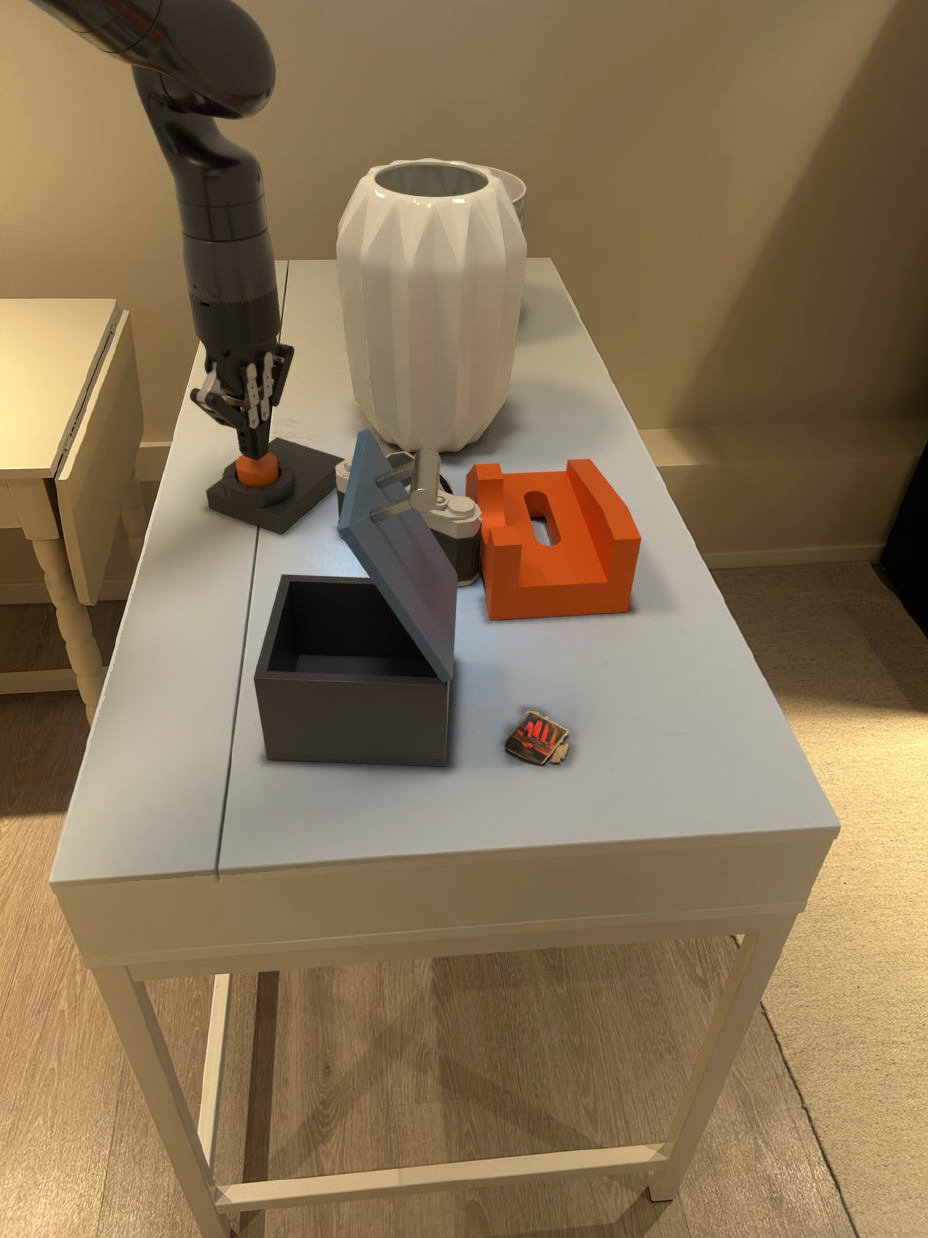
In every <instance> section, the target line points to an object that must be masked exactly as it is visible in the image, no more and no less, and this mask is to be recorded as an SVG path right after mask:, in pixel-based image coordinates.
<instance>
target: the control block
mask: <svg viewBox="0 0 928 1238" xmlns="http://www.w3.org/2000/svg"><path fill="white" fill-rule="evenodd" d="M268 449H269V453H271V454H273V455H274V456H275V457H276V458H277V464H278V472H279V477H278V479H277V480H276V481H275V482H273V483H271V484H267V485H264V486H247V485H244V484H241V483H240V482H239V480H238V474H237V467H236V461H237V459H235V460H234V461H232V462H231V463H230V464H228V465H227V466H226V467H225V468H224V469H223V473H222V477H221V478H220V479H219V480H218V481H216V482H215V483H213V484H212V485H211V486H210V487H208V488H207V489H206V490H205V494H206V499H207V504H208V505H207V506H208V508H209V510H212V511H215V512H218V513H221V514H224V515H226V516H229V517H232V518H235V519H238V520H241V521H243V522H246V523H248V524H250V525H254V526H257V527H260V528H262V529H265V530H268V531H271V532H273V533H276V534H279V535H283V534H284V533H285V532H286V531H287V530H288V529H290V527H292V526H293V525H294V524H295V523H296V522H297V521H299V520H300V519H301V518H303V516H304V515H305V514H307V513H308V512H309V511H310V510H311V509H312V508H314V507H315V506H316V505H317V504H318V503H320V501H321V500H322V499H324V498H325V497H326V496H327V495H328V494H329V493H330V492H332V491H333V490H334V489H336V485H335V482H336V468H335V466H337V465H338V464H339V463H341V462H342V461H344V460H345V459H346V458H344V457H340V456H338V455H334V454H331V453H328V452H325V451H322V450H319V449H315V448H312V447H310V446H306V445H303V444H300V443H297V442H293V441H291V440H287V439H284V438H281V437H278V436H276V437H275V438H273V439H272V440H270V441H269V444H268Z"/></svg>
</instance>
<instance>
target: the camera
mask: <svg viewBox="0 0 928 1238" xmlns="http://www.w3.org/2000/svg"><path fill="white" fill-rule="evenodd" d="M385 457H386V458H387V460H388V462H389V463H390V465H391V466H392V468H393V469H395V468H398V467H400V466H403V465H405V464H408V463H410V462H413V461H414V455H413V454H411V452H407V451H403V450H402V451H396V452H389V454H387V455H385ZM344 459H345V460H344V461H342V462H341V463H339V464H338V465H337V466H335V468H336V482H335V485H336V487H335V491H336V492H335V493H336V495H337V511H338V520H337V524H338V525H339V521H340V516H341V511H342V507H343V502H344V497H345V493H346V488H347V483H348V479H349V474H350V469H351V465H352V460H353V456H349V457H346V458H344ZM411 477H412V476H411ZM411 477H408V478H406V479H403V480H401V483H402V484H403V486H404V488H405V489H406V491H407V493H408V494H409V493H410V485H411ZM420 514H421V515H422V517H423V519H424V520H425V522H426V524H427V525H428V527H429V528H430V530H431V532H432V533H433V535H434V537H435V538H436V540H437V541H438V543H439V545H440V546H441V548H442V550H443V551H444V553H445V555H446V556H447V558H448V559H449V561H450V563H451V564H452V566H453V568H454V569H455V571H456V572H457V574H458V583H457V588H458V587H465V586H471V585H472V584H473V583H474V582H475V581H476V580H477V579H478V578H479V577H480V571H481V563H480V544H481V527H482V522H483V519H482V518H481V517H482V513H481V511H480V509H479V507H478V505H477V504H475V502H474V501H473V500H472V499H470V498H469V497H465V496H463V495H454V489H453V487H452V485H451V483H450V481H449V480H448V478H447V477H446V476H445V475H444V473H442V472H441V471H440V473H439V485H438V497H437V504H436V506H435V508H434V509H433V510H431V511H429V512H425V513H422V512H420ZM340 538H341V539H343V538H342V537H341V536H340Z"/></svg>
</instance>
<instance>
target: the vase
mask: <svg viewBox="0 0 928 1238" xmlns="http://www.w3.org/2000/svg"><path fill="white" fill-rule="evenodd" d="M469 164H470V163H468V162H466V161H464V160H443V159H438V158H434V157H433V158H432V157H426V158H421V159H420V158H419V159H416V160H410V159H407V160H406V159H397V160H394V161H392V162H391V163H389V164H385V165H377V166H376V165H375V166H373V167H371V168H370V169H369V170H368V172H367V173H366V175H365V176H362V177H361V178H360V179H359V181H358V183H357V185H356V186H355V188H354V191H353V192H352V194H351V197H350V199H349V201H348V203H347V204H346V206H345V209H344V211H343V214H342V216H341V218H340V220H339V223H338V226H337V235H338V237H337V240H336V243H335V249H336V250H335V251H336V252H335V253H336V254H335V255H336V263H337V264H336V265H337V275H338V277H337V278H338V289H339V295H340V296H339V297H340V303H341V311H342V320H343V328H344V335H345V337H344V338H345V344H346V345H345V346H346V353H347V358H348V359H347V360H348V367H349V373H350V379H351V386H352V392H353V397H354V400H355V402H356V403H357V405H358V406H359V408H360V409H361V410H362V412H363V413H364V415H365V416H366V418H367V419H368V420H369V422H370V423H371V425H372V426H373V427H374V429H375V430H376V432H377V433H378V435H379V436H380V438H381V439H383V441H384V442H385V443H387V444H390V445H395V446H398V447H399V448H400V449H401V450H402V451H407V452H408V453H416V452H417V451H418V450H420V449H422V448H431V449H434V450H435V451H436V452H437V453H438V454H439V455H440V454H441V453H445V452H446V453H447V452H448V453H457V452H460V451H461V450H462V449H463V448H464V447H465V446H466V445H470V444H473V443H476V442H478V441H479V439H480V438H481V437H482V436H483V434H484V433H485V431H486V430H487V428H488V427H489V425H490V424H491V422H493V420H494V418H495V417H496V415H497V414H498V412H500V409H502V407H503V405H505V402H506V401H507V399H508V396H509V390H510V384H511V379H512V378H511V377H512V372H513V367H514V361H515V355H516V345H517V339H518V332H519V331H518V330H519V324H520V317H521V308H522V303H523V294H524V287H525V286H524V285H525V278H526V277H525V275H526V265H527V256H528V255H527V254H528V244H527V240H526V237H525V235H524V231H523V232H522V229H521V224H520V221H519V219H518V216H517V214H516V211H515V209H514V206H513V204H512V202H511V199H510V197H509V195H508V192H507V190H506V188H505V186H504V184H503V182H502V180H501V179H499V178H497V177H495V176H493V174H492V173H491V171H490V170H489V169H487V168H483V167H476V166H471V165H469Z"/></svg>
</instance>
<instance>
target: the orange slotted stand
mask: <svg viewBox="0 0 928 1238" xmlns="http://www.w3.org/2000/svg"><path fill="white" fill-rule="evenodd" d="M464 495H465V496H464V497H469V498H470V499H472V500H473V501H474V502H475V504H477V505H478V507H479V509H480V511H481V513H482V517H481V518H482V519H483V522H482V527H481V544H480V569H481V573H482V575H483V576H482V577H483V582H484V586H485V605H486V609H487V614H488V618H489V621H500V620H501V621H502V620H516V619H531V618H533V619H534V618H535V619H536V618H548V617H549V618H550V617H551V618H552V617H566V616H567V617H568V616H582V615H583V616H584V615H598V614H599V615H601V614H615V613H617V614H618V613H627V612H628V611H629V606H630V600H631V594H632V589H633V584H634V579H635V573H636V569H637V564H638V558H639V554H640V548H641V543H642V536H641V534H640V532H639V530H638V527H637V525H636V523H635V520H634V518H633V516H632V513H631V511H630V509H629V507H628V505H627V504H626V502H625V501H624V500H623V499H622V498H621V496H620V495H619V493H618V492H617V491H616V490H615V489H614V488H613V486H612V485H611V483H610V482H609V481H608V480H607V479H606V477H605V476H604V475H603V473H602V472H601V471H600V470H599V468H598V467H597V466H596V464H595V463H594V462H593V460H592V459H591V458H576V459H573V458H572V459H567V462H566V470H553V471H533V472H532V471H531V472H530V471H529V472H508V473H507V472H506V473H503V471H502V468H501V464H500V463H499V462H496V463H474V464H473V466H472V467H471V469H469V471H468V472H467V474H466V475H465V494H464ZM539 517H541V518H543V517H545V520H546V523H547V526H548V529H549V532H550V536H551V539H552V542H553V545H546V544H543V543H541V542H539V541H538V539H537V536H536V534H535V531H534V527H533V523H532V521H531V520H532V519H531V518H539Z"/></svg>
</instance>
